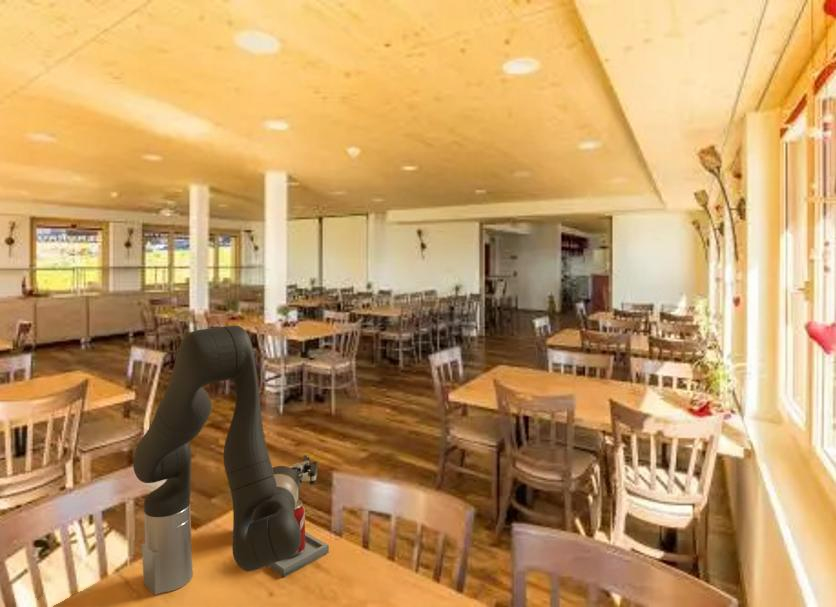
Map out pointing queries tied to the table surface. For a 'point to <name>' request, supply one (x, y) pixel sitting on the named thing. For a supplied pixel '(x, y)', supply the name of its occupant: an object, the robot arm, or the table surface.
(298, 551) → the soda can
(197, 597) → the table surface
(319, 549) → the serving tray
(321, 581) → the table surface
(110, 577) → the table surface
